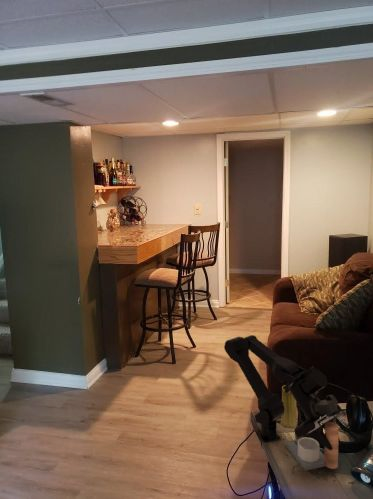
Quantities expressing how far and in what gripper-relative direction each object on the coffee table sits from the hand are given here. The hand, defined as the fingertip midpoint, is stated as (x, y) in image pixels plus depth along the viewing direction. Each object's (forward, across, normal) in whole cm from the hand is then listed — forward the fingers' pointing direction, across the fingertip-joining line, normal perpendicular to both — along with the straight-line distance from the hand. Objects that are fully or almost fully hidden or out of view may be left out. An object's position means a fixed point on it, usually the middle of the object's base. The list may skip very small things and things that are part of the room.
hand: (335, 446), depth 120 cm
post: (+4, 0, +6) cm, 7 cm away
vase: (-12, +12, +26) cm, 31 cm away
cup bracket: (-1, +2, +15) cm, 15 cm away
